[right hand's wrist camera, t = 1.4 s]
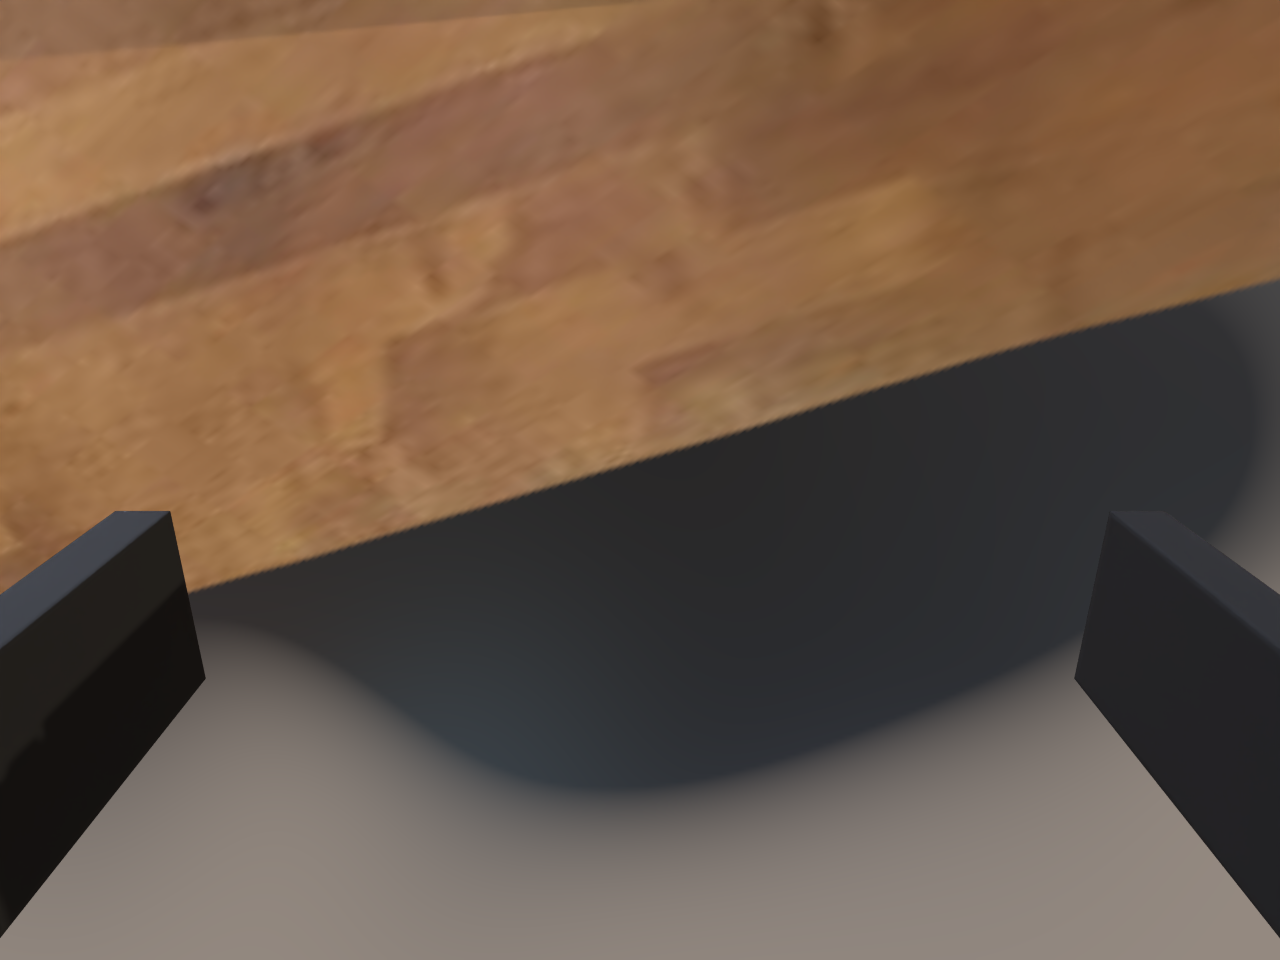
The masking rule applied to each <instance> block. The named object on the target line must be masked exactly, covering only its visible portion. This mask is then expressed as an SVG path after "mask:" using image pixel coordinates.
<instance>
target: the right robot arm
mask: <svg viewBox="0 0 1280 960" xmlns="http://www.w3.org/2000/svg"><path fill="white" fill-rule="evenodd" d="M204 680H205V673H204V668H203V664H202V659H201V654H200V650H199V645H198V640H197V635H196V631H195V626H194V621H193V616H192V612H191V607H190V602H189V598H188V593H187V588H186V583H185V579H184V574H183V569H182V565H181V560H180V555H179V550H178V546H177V541H176V536H175V531H174V527H173V522H172V517H171V513H170V511H115V512H113V513H112V514H111V515H109V516H108V517H107V518H105V519H104V520H102V521H101V522H100V523H98V524H97V525H96V526H94V527H93V528H91V529H90V530H89V531H87V532H86V533H85V534H83V535H82V536H80V537H79V538H78V539H76V540H75V541H74V542H72V543H71V544H69V545H68V546H67V547H65V548H64V549H63V550H61V551H60V552H58V553H57V554H56V555H54V556H53V557H52V558H50V559H49V560H47V561H46V562H45V563H43V564H42V565H41V566H39V567H38V568H36V569H35V570H34V571H32V572H31V573H30V574H28V575H27V576H25V577H24V578H23V579H21V580H20V581H19V582H17V583H16V584H14V585H13V586H12V587H10V588H9V589H7V590H6V591H5V592H3V593H2V594H1V595H0V938H1V936H2V935H3V934H4V933H5V931H6V930H7V929H8V927H9V926H10V925H11V924H12V922H13V921H14V920H15V919H16V917H17V916H18V915H19V914H20V912H21V911H22V910H23V909H24V907H25V906H26V905H27V904H28V902H29V901H30V900H31V898H32V897H33V896H34V895H35V893H36V892H37V891H38V890H39V888H40V887H41V886H42V885H43V883H44V882H45V881H46V880H47V878H48V877H49V876H50V874H51V873H52V872H53V871H54V869H55V868H56V867H57V866H58V864H59V863H60V862H61V861H62V859H63V858H64V857H65V856H66V854H67V853H68V852H69V850H70V849H71V848H72V847H73V845H74V844H75V843H76V842H77V840H78V839H79V838H80V837H81V835H82V834H83V833H84V831H85V830H86V829H87V828H88V826H89V825H90V824H91V823H92V821H93V820H94V819H95V818H96V816H97V815H98V814H99V813H100V811H101V810H102V809H103V808H104V806H105V805H106V804H107V802H108V801H109V800H110V799H111V797H112V796H113V795H114V794H115V792H116V791H117V790H118V789H119V787H120V786H121V785H122V784H123V782H124V781H125V780H126V778H127V777H128V776H129V775H130V773H131V772H132V771H133V770H134V768H135V767H136V766H137V765H138V763H139V762H140V761H141V760H142V758H143V757H144V756H145V754H146V753H147V752H148V751H149V749H150V748H151V747H152V746H153V744H154V743H155V742H156V741H157V739H158V738H159V737H160V736H161V734H162V733H163V732H164V730H165V729H166V728H167V727H168V725H169V724H170V723H171V722H172V720H173V719H174V718H175V717H176V715H177V714H178V713H179V712H180V710H181V709H182V708H183V707H184V705H185V704H186V703H187V701H188V700H189V699H190V698H191V696H192V695H193V694H194V693H195V691H196V690H197V689H198V688H199V686H200V685H201V684H202V683H203V681H204ZM1075 680H1076V681H1077V682H1078V684H1079V685H1080V686H1081V688H1082V689H1083V690H1084V691H1085V693H1086V694H1087V695H1088V696H1089V698H1090V699H1091V700H1092V701H1093V703H1094V704H1095V705H1096V706H1097V708H1098V709H1099V710H1100V712H1101V713H1102V714H1103V715H1104V717H1105V718H1106V719H1107V720H1108V722H1109V723H1110V724H1111V725H1112V727H1113V728H1114V729H1115V731H1116V732H1117V733H1118V734H1119V736H1120V737H1121V738H1122V739H1123V741H1124V742H1125V743H1126V744H1127V746H1128V747H1129V748H1130V749H1131V751H1132V752H1133V753H1134V754H1135V756H1136V757H1137V758H1138V759H1139V761H1140V762H1141V763H1142V765H1143V766H1144V767H1145V768H1146V770H1147V771H1148V772H1149V773H1150V775H1151V776H1152V777H1153V778H1154V780H1155V781H1156V782H1157V784H1158V785H1159V786H1160V787H1161V789H1162V790H1163V791H1164V792H1165V794H1166V795H1167V796H1168V797H1169V799H1170V800H1171V801H1172V802H1173V804H1174V805H1175V806H1176V807H1177V809H1178V810H1179V811H1180V812H1181V814H1182V815H1183V816H1184V818H1185V819H1186V820H1187V821H1188V823H1189V824H1190V825H1191V826H1192V828H1193V829H1194V830H1195V831H1196V833H1197V834H1198V835H1199V837H1200V838H1201V839H1202V840H1203V842H1204V843H1205V844H1206V845H1207V847H1208V848H1209V849H1210V850H1211V852H1212V853H1213V854H1214V856H1215V857H1216V858H1217V859H1218V861H1219V862H1220V863H1221V864H1222V866H1223V867H1224V868H1225V869H1226V871H1227V872H1228V873H1229V874H1230V876H1231V877H1232V878H1233V879H1234V881H1235V882H1236V883H1237V885H1238V886H1239V887H1240V888H1241V890H1242V891H1243V892H1244V893H1245V895H1246V896H1247V897H1248V898H1249V900H1250V901H1251V902H1252V904H1253V905H1254V906H1255V907H1256V909H1257V910H1258V911H1259V912H1260V914H1261V915H1262V916H1263V917H1264V919H1265V920H1266V921H1267V922H1268V924H1269V925H1270V926H1271V928H1272V929H1273V930H1274V931H1275V933H1276V934H1277V935H1278V936H1279V938H1280V595H1279V594H1278V593H1277V592H1275V591H1274V590H1272V589H1271V588H1270V587H1268V586H1267V585H1266V584H1264V583H1263V582H1261V581H1260V580H1259V579H1257V578H1256V577H1255V576H1253V575H1252V574H1250V573H1249V572H1248V571H1246V570H1245V569H1244V568H1242V567H1241V566H1239V565H1238V564H1237V563H1235V562H1234V561H1232V560H1231V559H1230V558H1228V557H1227V556H1226V555H1224V554H1223V553H1221V552H1220V551H1219V550H1217V549H1216V548H1215V547H1213V546H1212V545H1211V544H1209V543H1208V542H1206V541H1205V540H1204V539H1202V538H1201V537H1199V536H1198V535H1197V534H1195V533H1194V532H1193V531H1191V530H1190V529H1188V528H1187V527H1186V526H1184V525H1183V524H1181V523H1180V522H1179V521H1177V520H1176V519H1175V518H1173V517H1172V516H1171V515H1169V514H1168V513H1167V512H1165V511H1110V513H1109V517H1108V522H1107V527H1106V531H1105V536H1104V541H1103V546H1102V550H1101V555H1100V560H1099V565H1098V570H1097V574H1096V579H1095V584H1094V588H1093V593H1092V598H1091V602H1090V607H1089V612H1088V616H1087V621H1086V626H1085V631H1084V635H1083V640H1082V645H1081V650H1080V654H1079V659H1078V664H1077V668H1076V673H1075Z"/></svg>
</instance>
